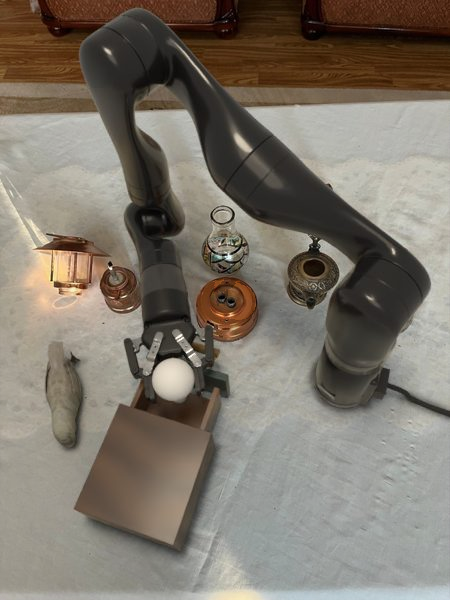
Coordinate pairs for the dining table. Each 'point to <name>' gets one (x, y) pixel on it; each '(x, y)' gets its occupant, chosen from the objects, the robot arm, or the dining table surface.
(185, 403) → the drawer
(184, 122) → the dining table surface
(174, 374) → the lightbulb
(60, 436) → the decorative bird
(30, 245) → the dining table surface
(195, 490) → the cabinet
